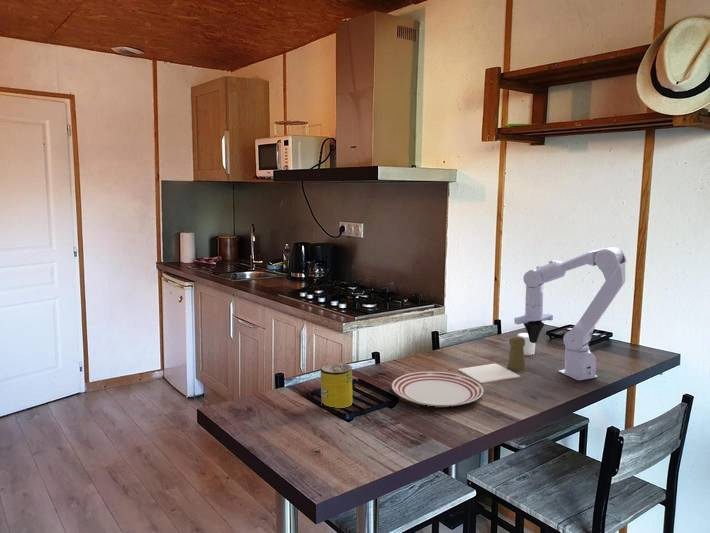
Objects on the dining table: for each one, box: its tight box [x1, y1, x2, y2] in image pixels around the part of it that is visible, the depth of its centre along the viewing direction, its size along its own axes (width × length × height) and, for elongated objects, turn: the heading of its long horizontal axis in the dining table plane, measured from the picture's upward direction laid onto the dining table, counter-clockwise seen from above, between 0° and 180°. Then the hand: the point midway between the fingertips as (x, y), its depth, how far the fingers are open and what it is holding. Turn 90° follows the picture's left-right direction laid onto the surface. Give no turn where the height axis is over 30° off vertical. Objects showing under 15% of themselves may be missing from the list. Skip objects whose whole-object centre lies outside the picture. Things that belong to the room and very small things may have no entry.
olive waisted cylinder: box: [507, 336, 527, 372], centre depth 189 cm, size 6×6×11 cm
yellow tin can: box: [320, 362, 354, 408], centre depth 158 cm, size 9×9×12 cm
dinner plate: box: [391, 371, 484, 408], centre depth 166 cm, size 28×27×3 cm
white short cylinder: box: [517, 332, 536, 356], centre depth 206 cm, size 7×7×7 cm
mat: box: [457, 363, 521, 385], centre depth 184 cm, size 14×15×1 cm
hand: (533, 342), depth 191 cm, fingers closed
